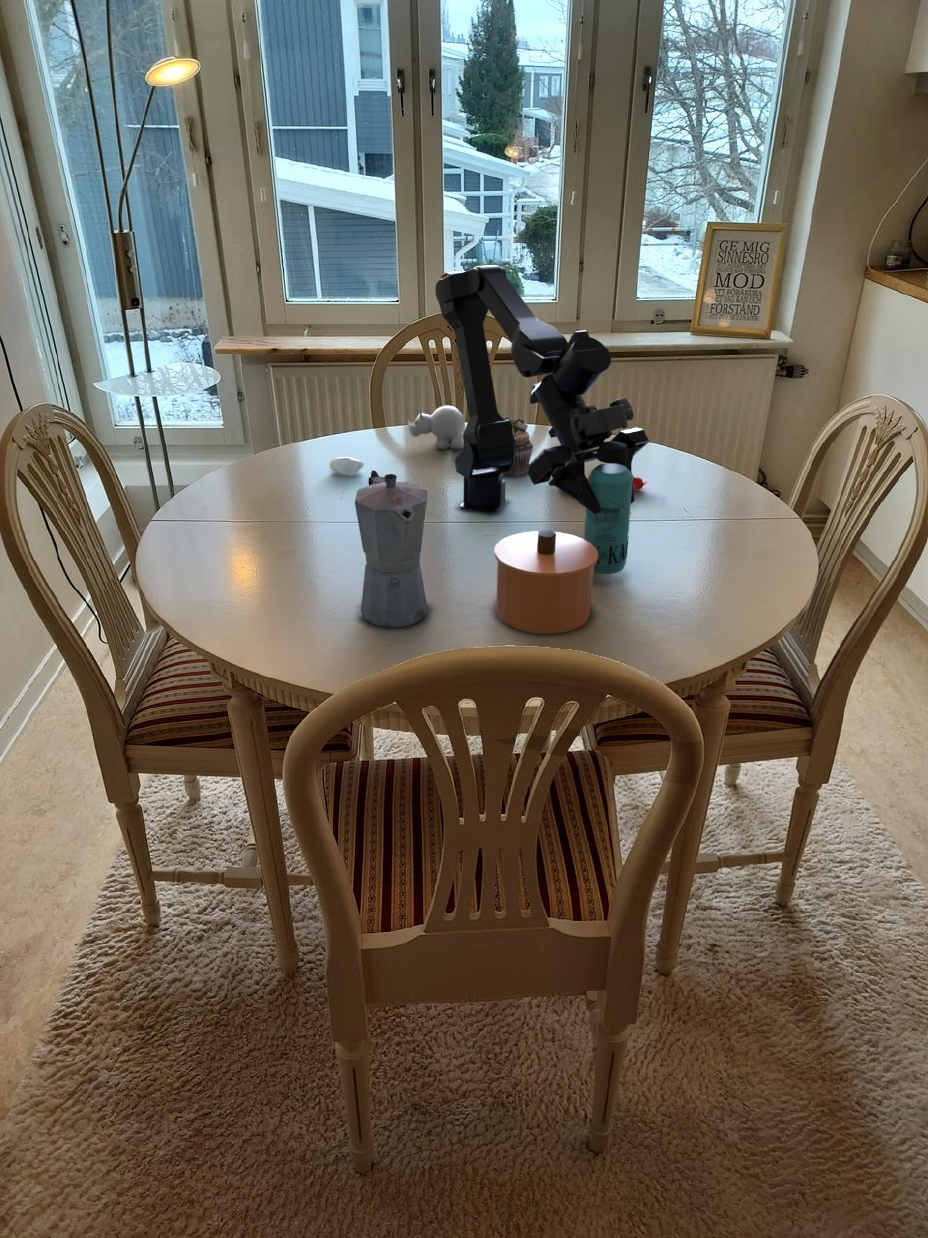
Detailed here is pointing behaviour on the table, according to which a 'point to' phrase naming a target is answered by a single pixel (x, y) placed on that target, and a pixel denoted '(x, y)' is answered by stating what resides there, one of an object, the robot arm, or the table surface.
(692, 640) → the table surface
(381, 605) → the moka pot
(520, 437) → the cupcake
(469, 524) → the table surface
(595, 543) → the beverage bottle
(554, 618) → the pot
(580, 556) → the pot lid
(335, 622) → the table surface
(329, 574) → the table surface
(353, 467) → the dumpling
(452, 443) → the toy rhinoceros
